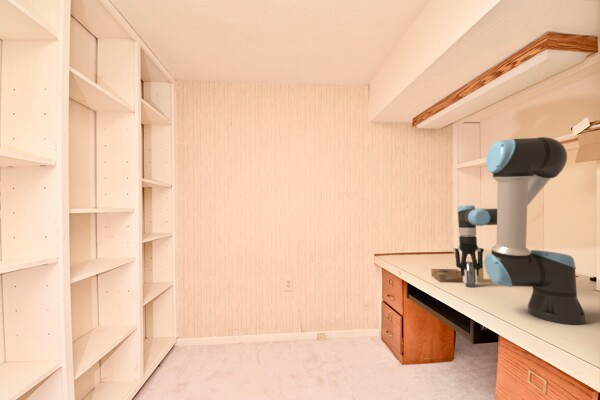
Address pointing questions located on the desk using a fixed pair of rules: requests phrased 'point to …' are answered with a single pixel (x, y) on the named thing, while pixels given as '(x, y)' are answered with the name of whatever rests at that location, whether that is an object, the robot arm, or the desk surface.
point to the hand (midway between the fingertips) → (470, 282)
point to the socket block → (447, 275)
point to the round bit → (470, 274)
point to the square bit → (480, 276)
